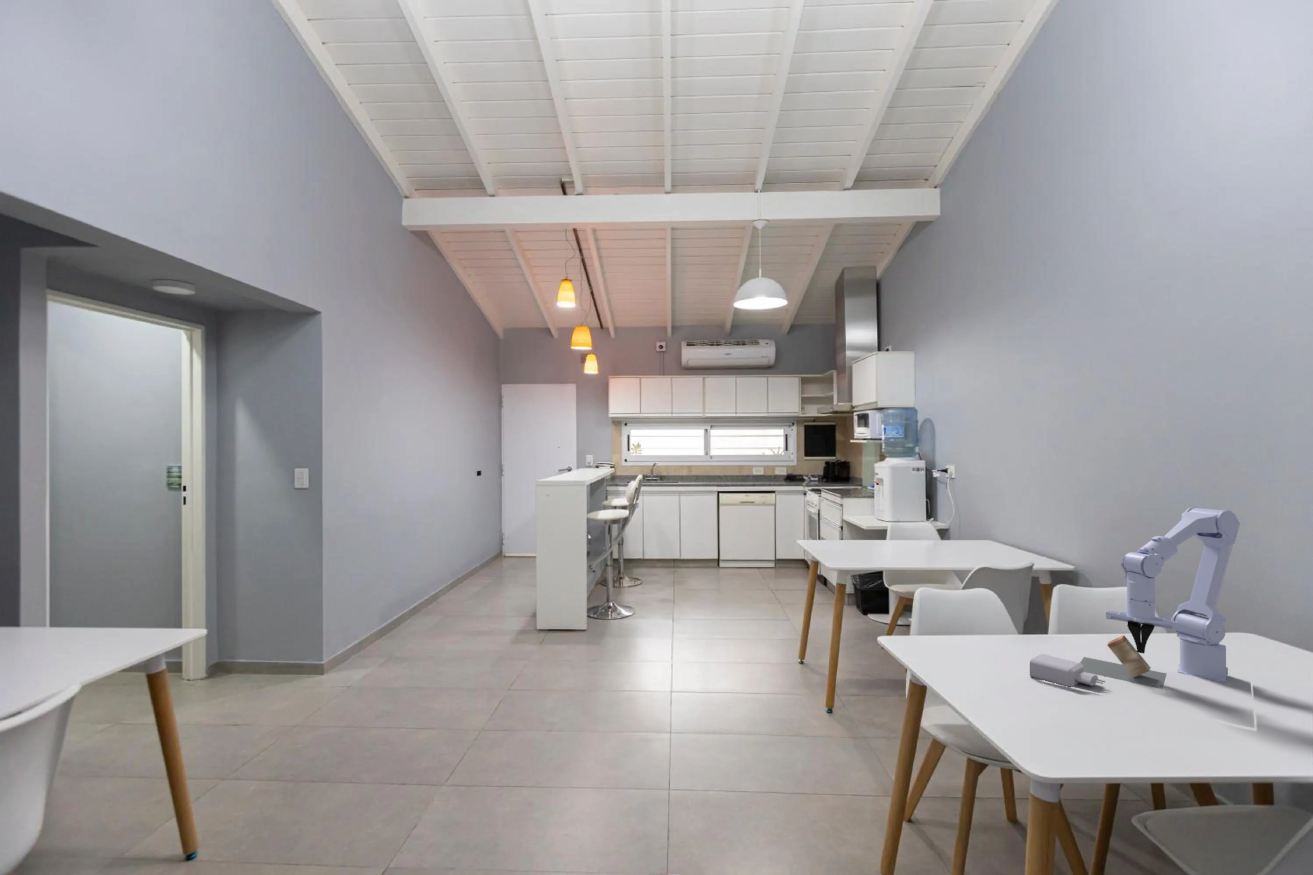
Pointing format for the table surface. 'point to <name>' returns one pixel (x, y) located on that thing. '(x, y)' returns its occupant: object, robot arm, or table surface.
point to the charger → (1061, 671)
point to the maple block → (1128, 656)
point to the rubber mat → (1122, 672)
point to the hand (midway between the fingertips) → (1140, 651)
